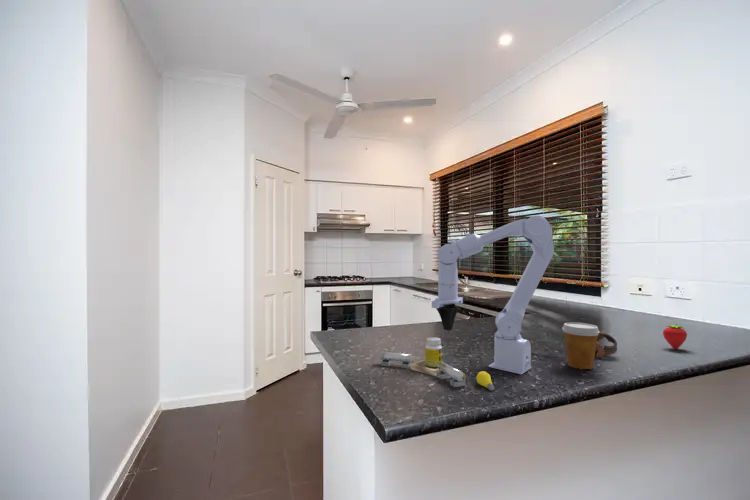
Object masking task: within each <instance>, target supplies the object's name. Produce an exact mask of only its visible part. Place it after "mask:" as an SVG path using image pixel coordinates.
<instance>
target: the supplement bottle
mask: <svg viewBox="0 0 750 500" xmlns="http://www.w3.org/2000/svg"><path fill="white" fill-rule="evenodd" d="M441 344H442V342H441V338H439V337H435V336H433V337H432V336H429V337H427V338H426V345H425V347H424V351H425V352H424V354H425V355H424V359H425V365H424V367H427V368H430V369H434V370H435V369H437V366H438V364H439V363H440V362H443V347H442V345H441Z"/></svg>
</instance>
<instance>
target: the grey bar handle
mask: <svg viewBox="0 0 750 500" xmlns="http://www.w3.org/2000/svg"><path fill="white" fill-rule="evenodd" d="M379 356H380V357H379V358H380V361H381V367H389V366H390V365H391V364H392V362H394V363H395V362H396V363H397V362H398V363H401V369H405V370H406V369H407V370H409V368H411V364H413V354H409V353H399V352H389V351H380V355H379Z"/></svg>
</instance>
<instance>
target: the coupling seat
mask: <svg viewBox="0 0 750 500" xmlns="http://www.w3.org/2000/svg"><path fill="white" fill-rule="evenodd" d="M410 370H413V371H416V372H420V373H423V374H425V375H429V376H433V377H437V372H441V371H439V370H438V368H437V369H435V370H434V369H430V368H427V367H425V358H424V359H421V360H418V361H416V362H412V363H411V366H410Z"/></svg>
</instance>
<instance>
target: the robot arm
mask: <svg viewBox="0 0 750 500" xmlns="http://www.w3.org/2000/svg"><path fill="white" fill-rule="evenodd" d="M508 237H517V238H518V237H519V238H520V237H523V238H524V239H525V240H526V241H527V242H528V244H529V246H530V248H531V250H532V252H533V253H532V255H531V257H530V259H529V261H528V263H527V265H526V267H525V269H524V270H523V273H522V275H521V277H520V279H519V280H518V283H517V285H516V286H515V288H514V291H513V293H512V294H511V296H510V299H509V300H508V302H506V304H505V306H504V308H503V309H502V311H501V310H500V312H498V313H497V314H496V316H495V319H494V323H495V326H496V328H497V331H496V332H495V333H494V337H493V338H494V344H493V345H494V348H493V349H494V350H493V351H494V352H493V353H494V355H493V357H494V361H493V362H492V363H490V364H489V365H488V368H492V369H495V370H500V371H501V370H502V371H506V372H509V373H514V374H517V375H523V374H524V373H526V372H528V371H529V370H530V369H532V366H531V365H532V362H531V361H532V358H531V357H532V354H531V353H532V351H531V350H532V349H531V348H532V347H531V342H530V340H529V339H524V338H523V337H522V335H521V334H520V333H521V332H522V322H523V320H524V317H525V313H526V309H527V307H528V305H529V303H530V301H531V299H532V297H533V296H534V293H535V291H536V289H537V288H538V286H539V283H540V282H541V279H542V278H543V276H544V274H545V272H546V270H547V268H548V267H549V264H550V263H551V260H552V259H553V256H554V255H555V247H554V246H555V245H554V241H553V228H552V226H551V224H550V223H549V221H548V219H547V218H546V217H544V216H542V215H532V216H530V217H529V218H522V219H518V220H515V221H512V222H509V223H506V224H504V225H501V226H500V227H498V228H495V229H493V230H490V231H488V232H486V233H483V234H482V235H479V234H476V233H472V234H470V233H466V234H465V236H464V237H462V238H459V239H457V240H454V239H453V240H451V241H450V243H446V244H444V245H442V246H441V247H439V249H438V251H437V257H438V259H439V261H438V269H437V271H438V274H437V275H438V277H437V278H438V279H437V284H438V285H437V286H438V287H437V288H438V290H437V291H438V293H437V294H438V296H437V297H435V299H434V300H432V301H431V309H432V308H433V309H436V311H437V312H438V314H439V317H440V320H441V325H442V328H443V330H445V331H452V330H453V327H454V322H455V318H456V316H457V314H458V312H459V310H460V306H459V304H460V305H461V304H463V303H464V300H463V299H464V297H463V296H462V297H461V296H458V295H459V294H458V293H459V292H458V289H459V288H458V287H459V285H458V284H459V283H458V281H459V279H458V277H459V276H458V275H459V273H458V272H459V271H458V270H459V269H458V263H457V262H458V261H457V260H458V259H460V260H463V259H466V258H468V257H471V256H474V255H475V254H479V253H481V252H482V251H483V249H484V247H485V246H486V245H488V244H492V243H495V242H496V241H500V240H503V239H505V238H508ZM457 304H458V305H457Z"/></svg>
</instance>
